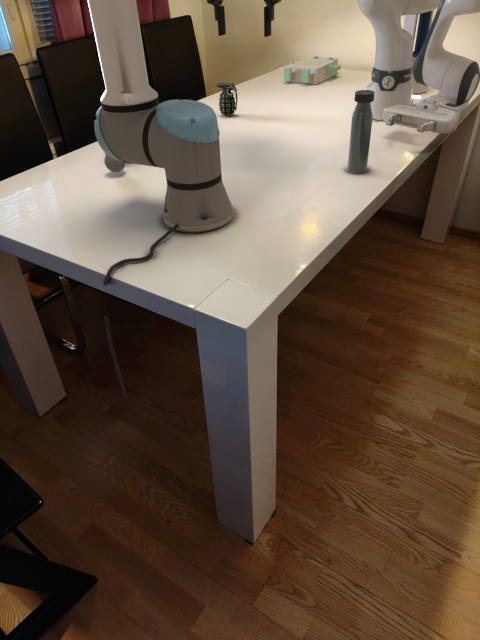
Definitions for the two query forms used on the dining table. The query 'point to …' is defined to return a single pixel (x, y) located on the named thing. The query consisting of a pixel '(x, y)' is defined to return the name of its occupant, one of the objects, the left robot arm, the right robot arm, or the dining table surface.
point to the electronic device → (418, 40)
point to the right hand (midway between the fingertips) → (403, 125)
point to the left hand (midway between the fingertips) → (244, 35)
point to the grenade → (227, 99)
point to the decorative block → (311, 70)
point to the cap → (364, 96)
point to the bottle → (360, 138)
